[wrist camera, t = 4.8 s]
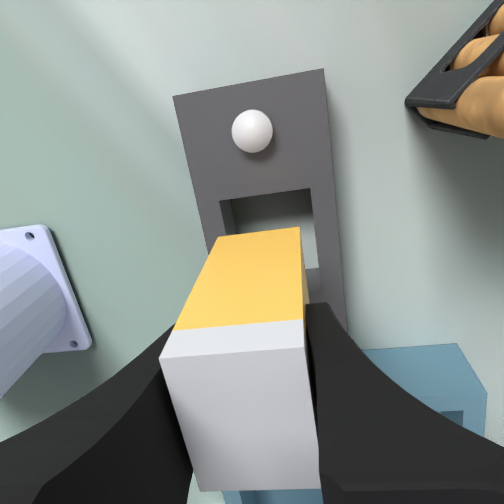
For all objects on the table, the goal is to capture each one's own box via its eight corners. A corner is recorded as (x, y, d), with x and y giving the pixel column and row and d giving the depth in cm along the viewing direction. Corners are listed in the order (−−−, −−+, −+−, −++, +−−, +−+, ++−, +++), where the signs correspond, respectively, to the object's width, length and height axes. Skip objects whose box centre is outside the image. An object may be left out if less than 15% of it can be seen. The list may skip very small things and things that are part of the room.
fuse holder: (241, 345, 24) (234, 382, 21) (187, 94, 18) (168, 96, 15) (345, 337, 23) (352, 374, 20) (319, 69, 17) (324, 67, 14)
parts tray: (251, 514, 29) (245, 572, 26) (212, 361, 24) (198, 408, 21) (451, 511, 27) (474, 574, 24) (456, 343, 22) (487, 392, 19)
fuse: (237, 328, 16) (200, 491, 10) (217, 237, 15) (158, 358, 8) (312, 321, 16) (324, 488, 9) (299, 226, 14) (303, 346, 8)
